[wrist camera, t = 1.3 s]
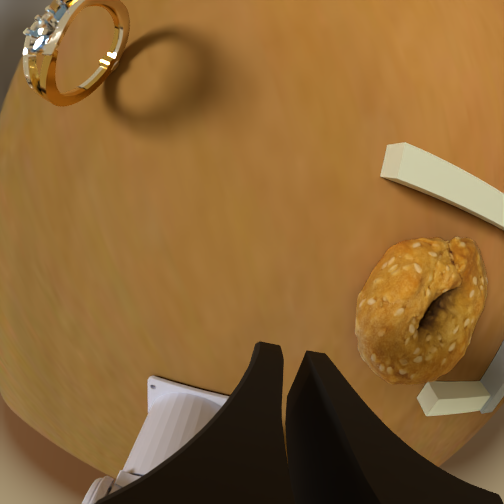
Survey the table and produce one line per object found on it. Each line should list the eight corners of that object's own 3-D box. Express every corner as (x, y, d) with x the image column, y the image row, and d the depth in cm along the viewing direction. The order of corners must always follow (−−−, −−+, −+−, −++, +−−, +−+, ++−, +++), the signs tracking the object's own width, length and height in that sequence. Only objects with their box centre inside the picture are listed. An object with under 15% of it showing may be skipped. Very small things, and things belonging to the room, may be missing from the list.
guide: (480, 394, 20) (491, 411, 17) (304, 389, 20) (307, 417, 17) (552, 236, 15) (572, 244, 12) (387, 145, 15) (409, 141, 12)
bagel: (483, 304, 17) (516, 332, 13) (375, 378, 20) (393, 420, 15) (454, 195, 15) (498, 206, 11) (321, 282, 18) (336, 320, 13)
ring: (128, 19, 13) (64, -33, 5) (160, 30, 13) (100, -30, 6) (73, 101, 15) (-11, 85, 7) (101, 118, 15) (12, 103, 8)
